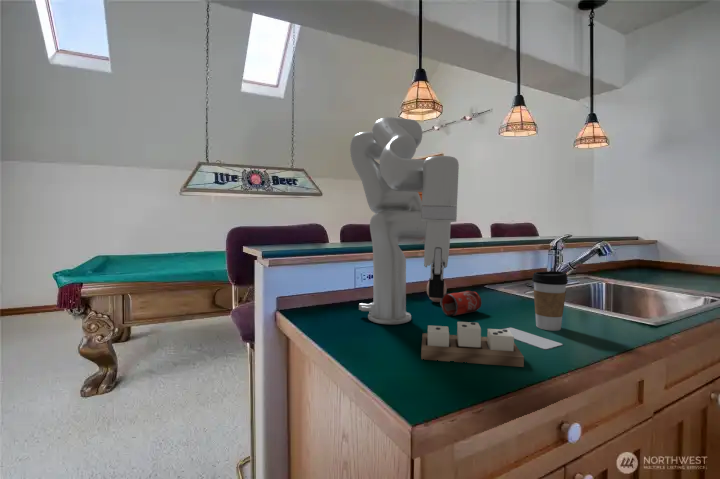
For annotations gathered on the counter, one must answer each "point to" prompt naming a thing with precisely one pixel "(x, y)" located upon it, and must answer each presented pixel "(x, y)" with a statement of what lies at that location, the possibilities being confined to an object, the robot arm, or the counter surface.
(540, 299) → the coffee cup
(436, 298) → the egg
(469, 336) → the white die
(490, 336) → the white die
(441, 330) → the white die
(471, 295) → the beverage can
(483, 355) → the board
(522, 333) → the smartphone
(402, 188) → the robot arm
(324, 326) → the counter surface
